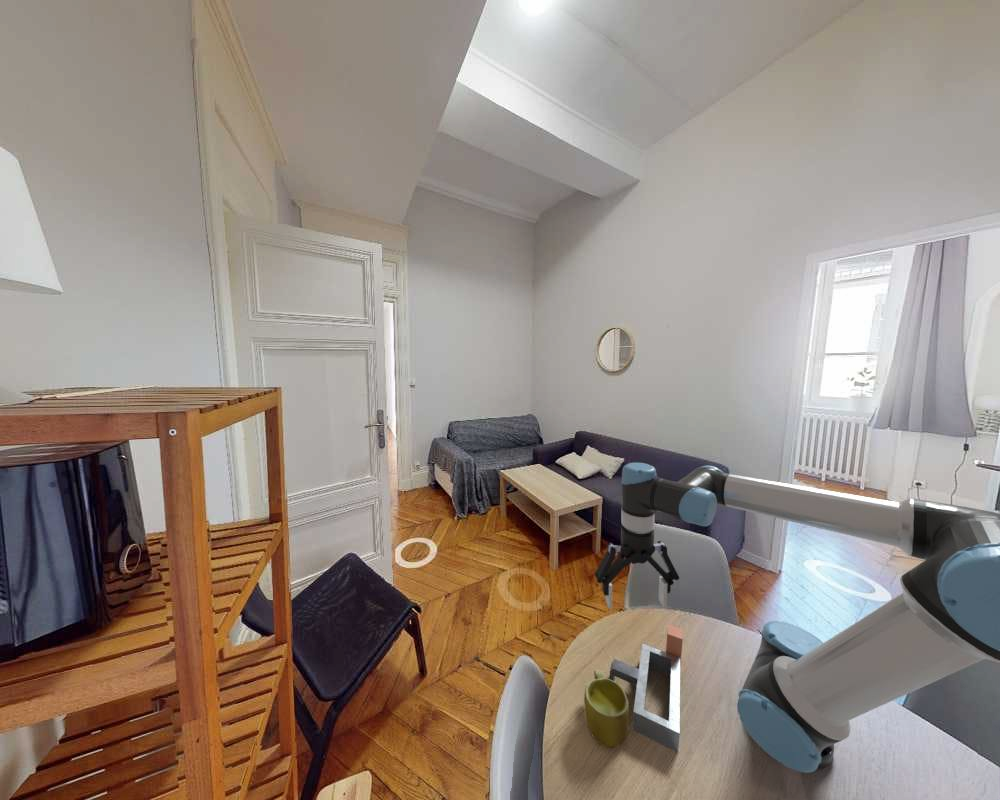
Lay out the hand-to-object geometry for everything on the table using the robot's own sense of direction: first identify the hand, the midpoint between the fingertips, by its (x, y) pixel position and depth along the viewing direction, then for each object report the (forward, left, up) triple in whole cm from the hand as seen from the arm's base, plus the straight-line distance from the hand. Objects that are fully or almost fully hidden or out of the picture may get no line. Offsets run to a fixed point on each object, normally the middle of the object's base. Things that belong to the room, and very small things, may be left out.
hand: (635, 604), depth 84 cm
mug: (+4, +15, -20) cm, 25 cm away
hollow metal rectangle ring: (-3, +5, -20) cm, 21 cm away
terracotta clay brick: (-9, -7, -20) cm, 23 cm away
